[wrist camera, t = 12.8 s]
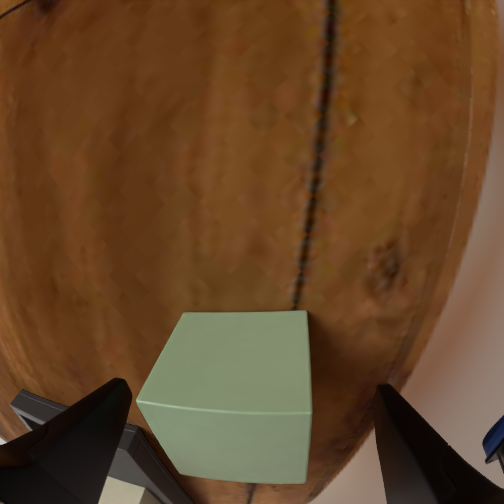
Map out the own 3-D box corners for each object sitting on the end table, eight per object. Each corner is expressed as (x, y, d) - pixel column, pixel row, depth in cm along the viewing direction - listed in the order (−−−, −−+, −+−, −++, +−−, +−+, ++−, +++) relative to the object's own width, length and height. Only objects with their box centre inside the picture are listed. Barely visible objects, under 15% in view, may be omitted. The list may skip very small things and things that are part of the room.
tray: (203, 514, 21) (199, 529, 19) (108, 489, 22) (103, 501, 20) (138, 426, 14) (127, 451, 12) (21, 388, 16) (9, 404, 14)
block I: (306, 394, 11) (305, 484, 7) (205, 392, 12) (179, 474, 8) (307, 309, 10) (312, 412, 6) (183, 311, 11) (134, 400, 6)
